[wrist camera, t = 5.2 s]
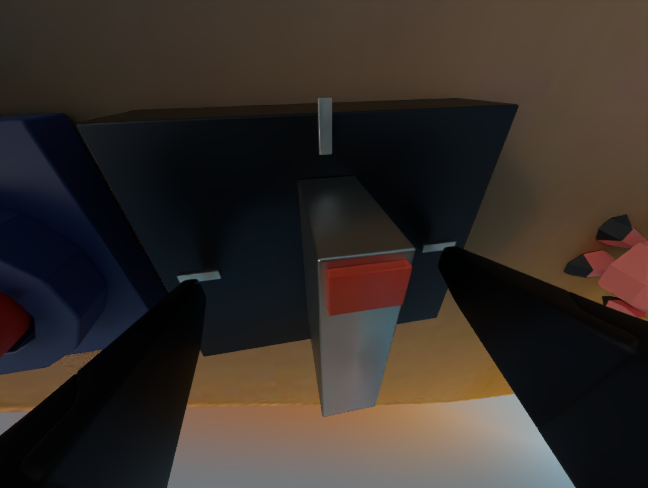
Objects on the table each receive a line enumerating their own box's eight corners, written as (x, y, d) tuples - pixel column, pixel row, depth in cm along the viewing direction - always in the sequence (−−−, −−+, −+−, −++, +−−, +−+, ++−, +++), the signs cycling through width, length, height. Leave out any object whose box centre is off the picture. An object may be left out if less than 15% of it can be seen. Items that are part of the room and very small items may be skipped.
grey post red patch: (345, 312, 11) (378, 414, 8) (307, 317, 11) (323, 426, 8) (354, 175, 7) (424, 256, 4) (297, 179, 7) (319, 269, 4)
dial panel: (217, 312, 14) (205, 364, 11) (128, 97, 8) (59, 107, 5) (409, 283, 16) (436, 324, 13) (460, 87, 9) (530, 90, 7)
